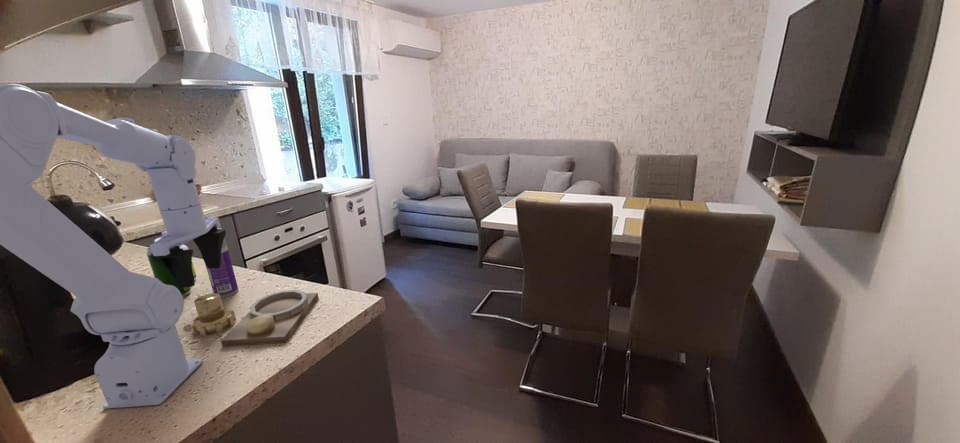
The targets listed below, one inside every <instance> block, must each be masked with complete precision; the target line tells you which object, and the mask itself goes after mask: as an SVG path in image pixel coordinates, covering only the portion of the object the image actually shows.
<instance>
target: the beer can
mask: <svg viewBox="0 0 960 443" xmlns="http://www.w3.org/2000/svg"><path fill="white" fill-rule="evenodd" d="M146 251H147V252H146V257H147V259H148V262H149V265H150V269H151V271H152V274H153V276H154V278H157V279H159V280H160V281H161V282H162V283H164V284H166V285H172V286H175V287H176V288H177V289H178V290H179V291H180V293H181V295H182V297H183V298H184V297H186V296H188V295H189V294H190V292H191V290H192V289H191V288H192V287H182V288H180V286H179V285H178V284H177V282H176V281H175V280H174V278H173V277H172V276H171V275H170V273H169V272H168V271H167V270H166V269H165V268H164V267H162V266H161V265H160V264H159V263H157V262H156V261H154V260H153V259H152V257H151V253H152V250H151V247H150V246H149V247H147V248H146Z"/></svg>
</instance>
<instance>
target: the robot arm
mask: <svg viewBox="0 0 960 443" xmlns="http://www.w3.org/2000/svg"><path fill="white" fill-rule="evenodd" d="M57 139H60V140H65V141H69V142H74V143H75V142H76V143H79V144H80V143H81V144H83V145H84V144H85V145H89V146H93V147H95V149H97V152H99V153H100V154H101V155H102V156H103V157H106V158H108V159H112V160H117V161H120V162H125V163H129V164H134V165H135V166H136V167H137V168H138V169H139V170H140V171H142V172H144V173H145V172H147V174H148V177H149V181H150V183H151V187H152V190H153V193H154V197H155V200H156V203H157V206H158V209H159V213H160V215H161V218H162V221H163V226H164V228H165V230H164V231H162V232H161V235H162V236H160V237H161V238H160V237H159V238H160V239H159V240H158V241H157V242H154V243H152V244H150V245H149V247H151V250H152V253H151V257H152V259H153V260H154V261H156V262H157V263H159V264H160V265H161V266H162V267H164V268H165V269H166V270H167V271H168V272H169V273H170V275H171V276H172V277H173V278H174V280H175V281H176V282H177V284H178V285H179V286H180V288H182V287H190V288H192V287H193V286H195V280H194V276H193V271H192V263H193V254H194V249H188V250H183V249H182V248H181V249H180V246H181V245H185V244H187V243H189V242H191V241H193V242H194V243H195V245H196V246H197V248H198V250H199V252H200V254H201V256H202V259H203V262H204V265H205V264H206V265H205V267H206V266H207V268H208V269H211V268H220V267H221V249H222V244H223V240H224V237H226V236H227V232H226V229H223V228H222V226H221V223H220V222H221V221H220V218H219V217H207V218H205V214H204V211H203V206H202V204H201V200H200V197H199V193H198V189H197V185H196V181H195V179H194V178H196V177H197V176H196V175H197V172H196V171H197V170H196V167H195V165H196V156H197V155H196V151H195V149H194V148H193V146H192V144H191V143H190V142H189V140H187V139H185V138H183V137H182V136H180V135H176V134H175V135H173V134H172V135H164V134H163V133H160V132H159V130H158V129H155V128H146V127H144V126H141V125H138V124H136V123H135V120H134V119H133V118H129V117H118V118H114V119H108V120H106V121H103V120H101V119H98V118H96V117H93V116H92V115H88V114H86V113H84V112H82V111H79V110H77V109H74V108H71V107H69V106H67V105H64V104H62V103H59V102H57V101H56V100H55V98H53V96H52V95H51V94H50V93H47V92H43V91H39V90H34V89H32V88H31V87H27V86H25V85H22V84H18V83H0V246H2V247H3V248H4V249H6V250H8V251H9V252H11V253H12V254H14V255H15V256H17V258H19V259H21V260H22V261H24V262H25V263H27V264H28V265H29V266H31V267H33V268H34V269H36V270H37V271H38V272H40V274H43V275H44V276H46V277H47V278H48V279H49V280H52V281H53V282H55V283H56V284H57V285H59V286H60V287H62V288H64V289H65V290H66V291H67V292H69V293H71V295H74V296H75V297H74V299H73V301H72V305H71V307H70V312H71V313H72V314H74V315H76V317H78V318H79V320H80V321H81V323H82V325H83V327H84V329H85V330H86V331H87V332H88V333H90V334H92V335H95V336H100V337H101V339H102V341H103V342H104V343H107V342H109V344H108V348H107V349H106V351H105V353H104V354H103V355H102V356H101V357H100V358H99V359H98V360H97V361H96V362H95V364H94V368H93V369H94V371H93V372H94V375H95V377H96V380H97V382H98V384H99V387H100V390H101V391H102V394H103V396H104V399H105V402H103V404H102V408H103V409H115V408H117V409H118V408H129V407H130V408H131V407H132V408H133V407H144V406H147V407H149V406H158V405H161V404H162V403H163V402H165V400H166V399H167V398H168V397H169V396H170V395H171V394H172V393H174V391H175V390H176V389H177V388H179V386H180V385H182V383H183V382H185V380H186V379H187V378H189V377H190V376H191V375H192V373H193V372H194V371H195V370H196V369H197V368H198V367H199V366H200V365H201V364H202V363H203V362H204V360H203V359H202V358H193V359H187V357H186V354H185V351H184V347H183V344H182V342H181V338H180V335H179V332H178V329H177V326H176V323H177V322H179V320H180V318H181V316H182V314H183V312H184V307H185V303H184V297H182V295H181V293H180V291H179V290H178V289H177V288H176V287H175V286H172V285H166V284H164V283H162V282H161V281H160V280H159V279H157V278H155V277H153V276H149V275H146V274H141V273H137V272H133V271H130V270H129V269H127V268H126V267H125V266H124V265H123V264H121V262H119V261H118V260H117V259H116V258H115V257H114V256H112V255H111V254H110V253H109V252H107V250H105V249H104V248H103V247H102V246H101V245H100V244H98V243H97V242H96V241H95V240H94V239H92V237H90V236H89V235H88V234H86V232H85V231H83V230H82V229H81V228H80V227H79V226H78V225H77V224H75V223H74V222H73V221H72V220H71V219H69V217H67V215H65V214H64V213H63V212H61V211H60V210H59V209H58V208H56V206H54V205H53V204H52V203H51V202H50V201H48V199H46V198H45V197H44V196H43V195H42V194H40V192H38V191H37V190H36V189H35V188H34V187H33V182H35V181H36V180H38V179H39V178H41V177H42V176H43V174H44V173H45V172H44V171H45V169H46V166H47V164H48V161H49V159H50V156H51V154H52V151H53V148H54V145H55V143H56V141H57ZM217 228H222V229H217ZM207 268H206V269H207Z"/></svg>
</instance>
